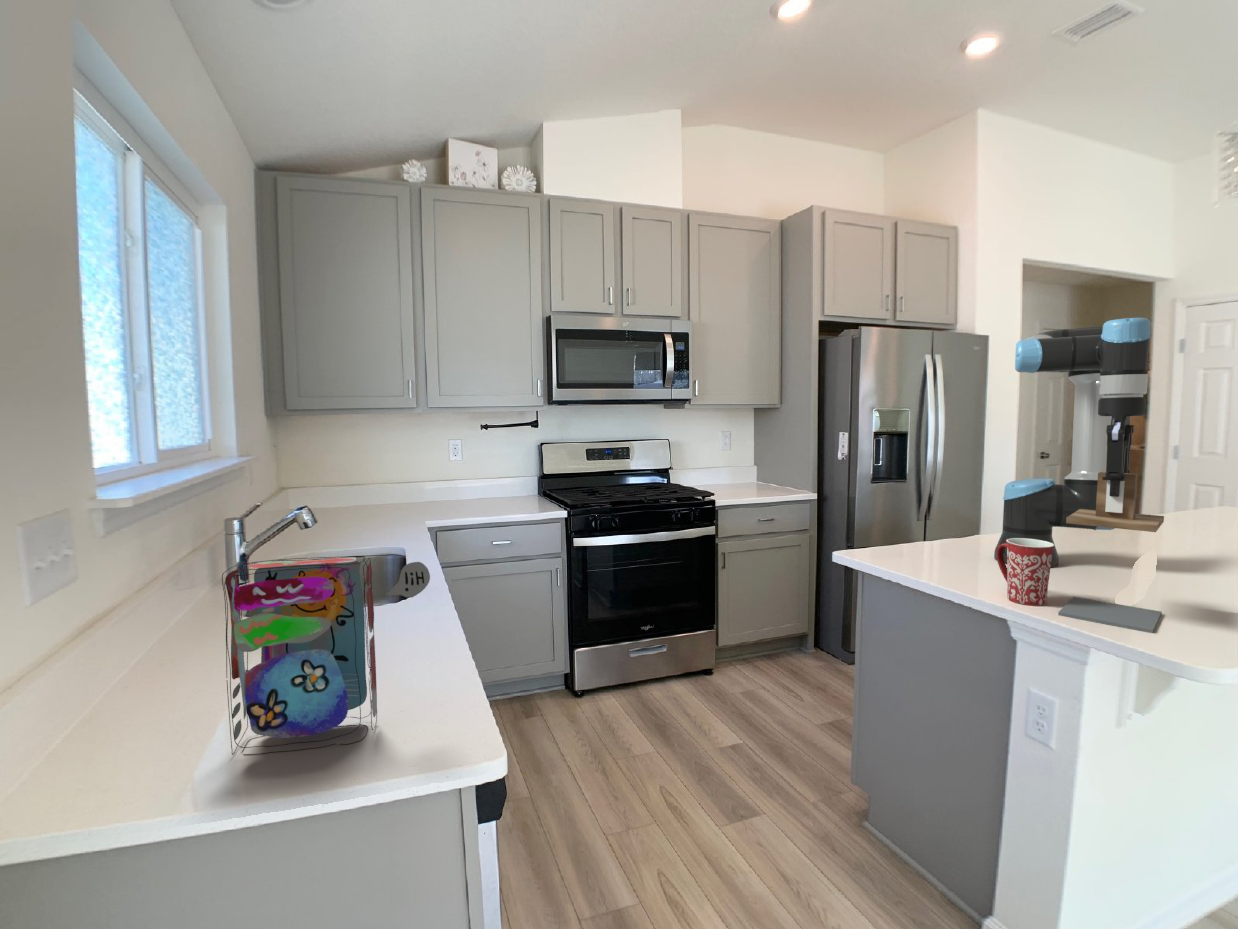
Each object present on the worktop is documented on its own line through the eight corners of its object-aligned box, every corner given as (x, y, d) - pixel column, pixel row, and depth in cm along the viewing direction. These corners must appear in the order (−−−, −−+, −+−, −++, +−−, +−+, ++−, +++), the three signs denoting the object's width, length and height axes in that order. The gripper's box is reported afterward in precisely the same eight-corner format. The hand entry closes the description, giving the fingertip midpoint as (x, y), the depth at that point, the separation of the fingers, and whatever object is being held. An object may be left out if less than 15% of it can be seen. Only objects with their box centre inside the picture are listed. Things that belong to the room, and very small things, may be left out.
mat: (1073, 599, 138) (1073, 596, 138) (1161, 614, 127) (1161, 611, 127) (1058, 615, 128) (1058, 612, 128) (1152, 633, 117) (1153, 630, 117)
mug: (1062, 605, 134) (1065, 545, 132) (1026, 608, 132) (1029, 547, 131) (1015, 589, 146) (1017, 534, 145) (982, 592, 144) (984, 535, 143)
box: (437, 713, 90) (431, 549, 87) (434, 734, 84) (426, 559, 81) (249, 734, 84) (237, 561, 82) (231, 759, 78) (218, 572, 76)
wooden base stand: (1079, 514, 136) (1082, 468, 135) (1163, 521, 126) (1166, 472, 125) (1066, 523, 126) (1068, 474, 125) (1155, 532, 116) (1159, 479, 115)
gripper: (1105, 396, 132) (1099, 504, 134) (1091, 397, 121) (1085, 514, 123) (1151, 396, 126) (1144, 507, 129) (1141, 396, 115) (1133, 518, 117)
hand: (1115, 510), depth 126 cm, fingers closed on wooden base stand, 3 cm apart
